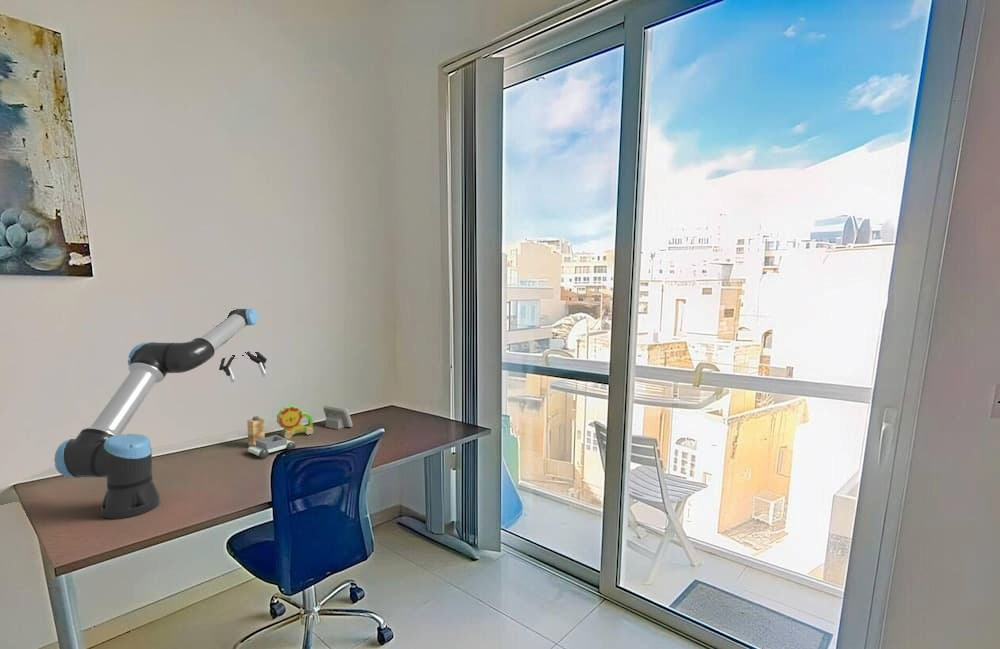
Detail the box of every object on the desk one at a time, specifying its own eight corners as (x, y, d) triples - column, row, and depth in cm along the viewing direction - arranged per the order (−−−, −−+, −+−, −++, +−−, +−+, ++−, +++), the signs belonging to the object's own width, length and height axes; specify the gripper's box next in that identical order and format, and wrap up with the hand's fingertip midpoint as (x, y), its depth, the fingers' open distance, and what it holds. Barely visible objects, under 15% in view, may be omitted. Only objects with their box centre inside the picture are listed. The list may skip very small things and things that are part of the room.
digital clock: (354, 427, 242) (353, 407, 241) (338, 432, 235) (338, 411, 234) (335, 422, 252) (335, 402, 251) (320, 426, 245) (320, 405, 244)
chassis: (259, 459, 197) (259, 446, 196) (246, 454, 203) (246, 441, 203) (295, 449, 209) (295, 437, 209) (282, 444, 216) (282, 432, 215)
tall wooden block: (253, 448, 210) (252, 419, 209) (248, 446, 213) (247, 417, 212) (264, 445, 214) (264, 416, 213) (259, 443, 217) (258, 415, 216)
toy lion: (310, 431, 235) (310, 401, 234) (314, 434, 231) (313, 404, 229) (276, 438, 225) (275, 406, 224) (279, 440, 221) (278, 409, 220)
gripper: (259, 342, 235) (274, 377, 227) (203, 349, 216) (217, 387, 209) (263, 333, 231) (279, 368, 223) (206, 339, 212) (221, 378, 205)
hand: (249, 378), depth 216 cm, fingers open, 13 cm apart
